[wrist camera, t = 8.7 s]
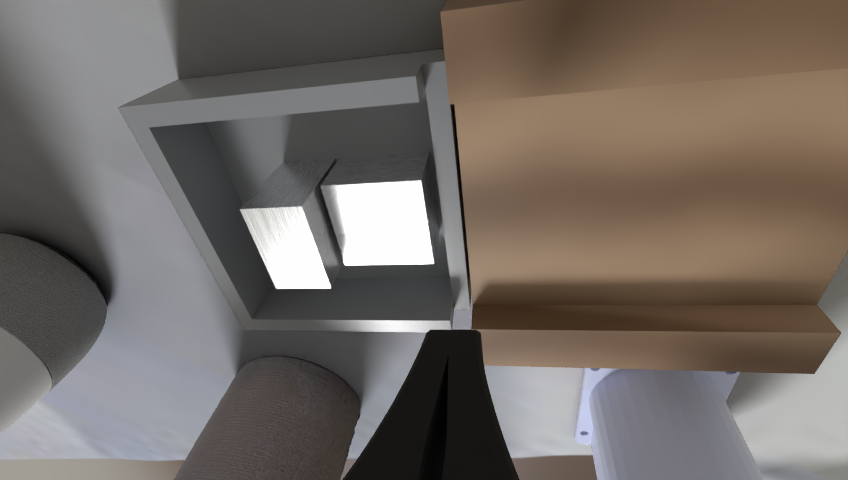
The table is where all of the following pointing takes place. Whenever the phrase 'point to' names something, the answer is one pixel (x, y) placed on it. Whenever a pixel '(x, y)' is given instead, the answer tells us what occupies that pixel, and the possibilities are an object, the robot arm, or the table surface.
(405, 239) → the chip
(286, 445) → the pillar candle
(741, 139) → the slot block
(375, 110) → the tray
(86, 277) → the smart speaker
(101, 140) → the table surface
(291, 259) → the chip
